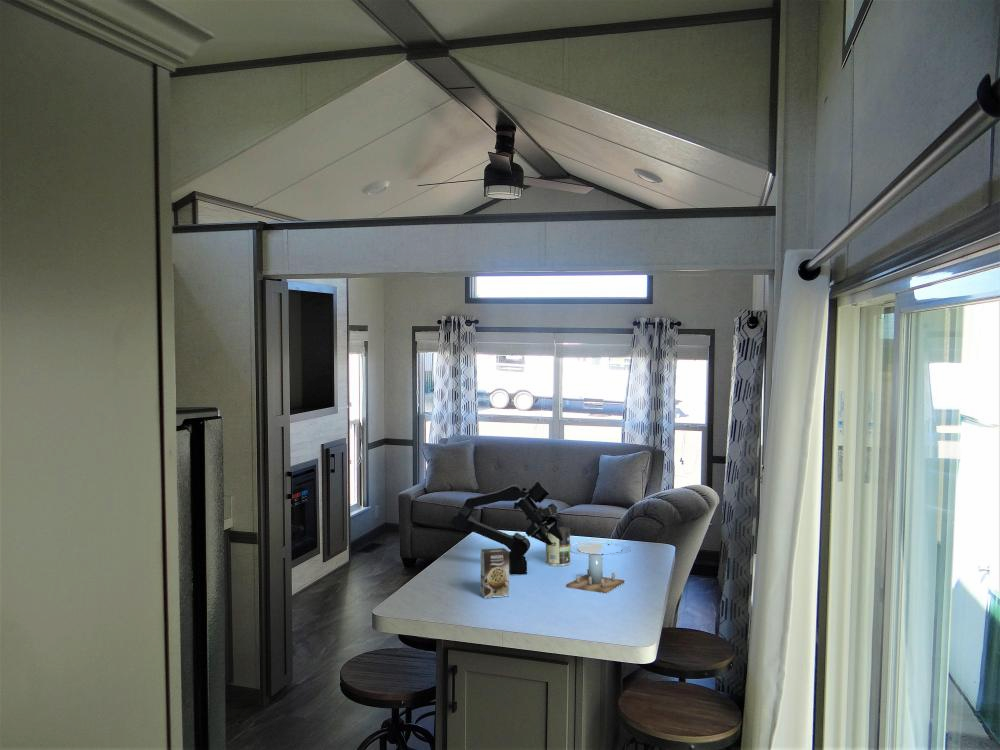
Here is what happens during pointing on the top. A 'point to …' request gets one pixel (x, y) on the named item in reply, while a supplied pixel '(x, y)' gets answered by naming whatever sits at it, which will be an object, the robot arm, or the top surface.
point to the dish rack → (603, 587)
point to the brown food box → (494, 572)
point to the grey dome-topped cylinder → (595, 568)
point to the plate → (589, 547)
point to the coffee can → (558, 548)
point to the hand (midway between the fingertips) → (556, 542)
